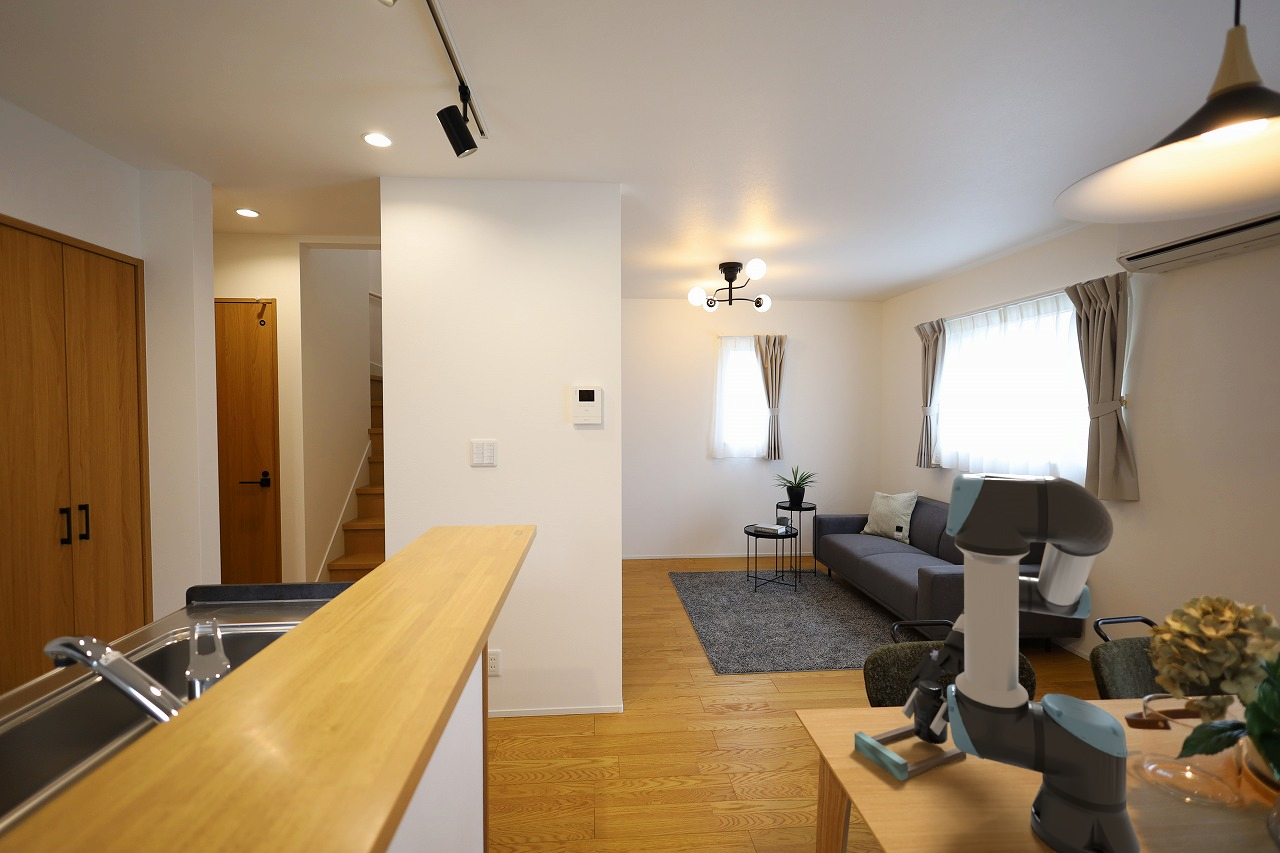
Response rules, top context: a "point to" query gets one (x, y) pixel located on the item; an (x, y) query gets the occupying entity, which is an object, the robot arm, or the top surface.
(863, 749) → the channel
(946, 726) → the supplement bottle
